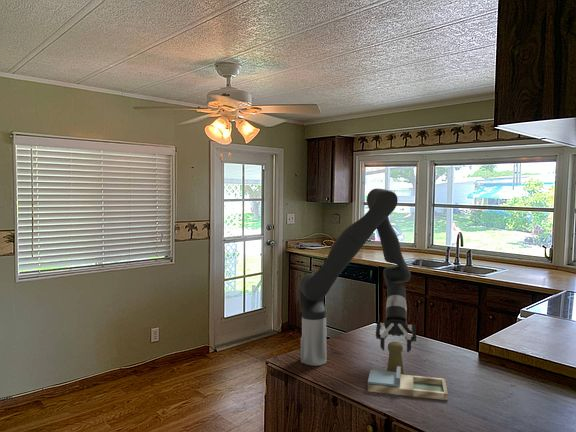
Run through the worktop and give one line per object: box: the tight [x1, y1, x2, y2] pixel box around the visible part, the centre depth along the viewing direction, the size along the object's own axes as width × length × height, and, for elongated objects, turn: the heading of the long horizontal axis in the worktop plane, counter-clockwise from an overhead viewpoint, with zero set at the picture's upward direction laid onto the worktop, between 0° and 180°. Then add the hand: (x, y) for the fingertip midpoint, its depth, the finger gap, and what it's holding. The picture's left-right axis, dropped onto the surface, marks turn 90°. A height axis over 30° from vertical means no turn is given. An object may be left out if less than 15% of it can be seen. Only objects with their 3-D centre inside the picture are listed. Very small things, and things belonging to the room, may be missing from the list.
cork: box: [386, 341, 405, 375], centre depth 148 cm, size 6×6×11 cm
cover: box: [367, 366, 401, 387], centre depth 139 cm, size 10×10×3 cm
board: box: [367, 374, 449, 401], centre depth 137 cm, size 24×11×2 cm, turn 74°
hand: (395, 350), depth 149 cm, fingers open, 8 cm apart
